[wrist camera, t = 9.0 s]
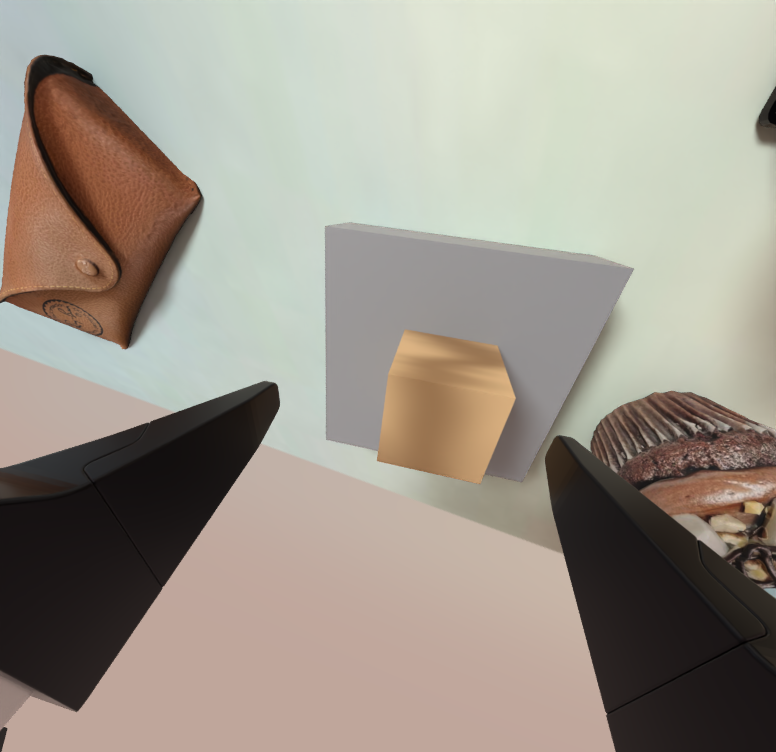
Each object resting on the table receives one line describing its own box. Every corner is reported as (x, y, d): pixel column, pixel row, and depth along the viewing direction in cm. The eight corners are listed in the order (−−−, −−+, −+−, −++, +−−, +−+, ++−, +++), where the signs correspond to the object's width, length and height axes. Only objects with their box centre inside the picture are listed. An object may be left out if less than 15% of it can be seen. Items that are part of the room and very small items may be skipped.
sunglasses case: (129, 357, 26) (8, 360, 21) (106, 298, 28) (-11, 285, 22) (209, 188, 18) (43, 113, 12) (170, 117, 19) (8, 20, 14)
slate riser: (594, 255, 16) (634, 268, 13) (511, 441, 23) (521, 482, 20) (349, 222, 17) (324, 226, 14) (343, 407, 25) (326, 439, 21)
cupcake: (610, 498, 24) (698, 655, 16) (553, 420, 22) (620, 559, 13) (762, 454, 20) (995, 638, 11) (712, 351, 17) (969, 490, 9)
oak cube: (497, 345, 15) (515, 398, 11) (472, 418, 18) (480, 484, 14) (404, 329, 16) (388, 374, 12) (393, 402, 18) (376, 460, 14)
